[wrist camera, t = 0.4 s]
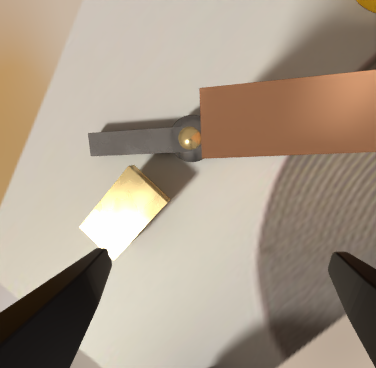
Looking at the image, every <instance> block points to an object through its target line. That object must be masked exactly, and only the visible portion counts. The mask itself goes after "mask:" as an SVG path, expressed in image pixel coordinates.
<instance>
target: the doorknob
mask: <svg viewBox="0 0 376 368" xmlns="http://www.w3.org/2000/svg"><path fill="white" fill-rule="evenodd" d="M356 1H357V2H358V3H359V4H360V5H361V6H363V7H364V8H366V9H368V10H369V11H372V12H374V13H376V0H356Z"/></svg>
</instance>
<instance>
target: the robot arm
mask: <svg viewBox="0 0 376 368" xmlns="http://www.w3.org/2000/svg"><path fill="white" fill-rule="evenodd" d="M111 267H112V261H111V258H110V255H109V252H108V249H107V248H96V249H95V250H93V251H92V252H90V253H89V254H87V255H86V256H84V257H83V258H81V259H80V260H78V261H77V262H75V263H74V264H72V265H71V266H69V267H68V268H66V269H65V270H63V271H62V272H60V273H59V274H57V275H56V276H54V277H53V278H51V279H50V280H48V281H47V282H45V283H44V284H42V285H41V286H39V287H38V288H36V289H35V290H33V291H32V292H30V293H29V294H27V295H26V296H24V297H23V298H21V299H20V300H18V301H17V302H15V303H14V304H13V305H11V306H9V307H8V308H6V309H5V310H3V311H2V312H0V368H70V366H71V364H72V362H73V360H74V357H75V355H76V353H77V351H78V349H79V346H80V344H81V342H82V340H83V338H84V335H85V333H86V331H87V329H88V327H89V324H90V322H91V320H92V318H93V316H94V313H95V311H96V309H97V307H98V304H99V302H100V299H101V296H102V293H103V290H104V287H105V285H106V282H107V279H108V276H109V273H110V270H111ZM328 272H329V275H330V277H331V280H332V282H333V284H334V287H335V289H336V291H337V294H338V296H339V298H340V301H341V303H342V305H343V307H344V310H345V312H346V314H347V316H348V318H349V320H350V322H351V324H352V326H353V328H354V329H355V331H356V333H357V335H358V337H359V339H360V340H361V342H362V344H363V346H364V348H365V349H366V351H367V353H368V355H369V357H370V359H371V360H372V362H373V364H374V366H375V368H376V269H375V268H373V267H372V266H370V265H368V264H366V263H365V262H363V261H361V260H360V259H358V258H356V257H355V256H353V255H351V254H349V253H348V252H334V253H333V254H332V256H331V260H330V263H329V266H328Z"/></svg>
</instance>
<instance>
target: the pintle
mask: <svg viewBox="0 0 376 368" xmlns="http://www.w3.org/2000/svg"><path fill="white" fill-rule="evenodd" d="M178 140H179V143H180V145H181V146H182V147H183V148H185V149H189V150H192V149H196V148H197V147H199V145H200V144H201V133H200V132H199V131H198V130H197V129H196V128H194V127H190V126H189V127H185V128H183V129H182V130H181V131H180V133H179V136H178Z"/></svg>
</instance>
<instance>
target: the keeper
mask: <svg viewBox="0 0 376 368" xmlns="http://www.w3.org/2000/svg"><path fill="white" fill-rule="evenodd" d="M170 200H171V199H170V198H169V197H167V196H166V195H165V194H164V193H163V192H162V191H161V190H160V189H159V188H158V187H157V186H156V185H155V184H154V183H153V182H152V181H151V180H150V179H148V178H147V177H146V176H145V175H144V174H143V173H142V172H141V171H140V170H139V169H138V168H137V167H136V166H135V165H132V166H128V167H127V169H126V170H125V171H124V172H123V174H122V175H121V176H120V177H119V179H118V180H117V181H116V182H115V183H114V185H113V186H112V187H111V188H110V190H109V191H108V192H107V193H106V195H105V196H104V197H103V198H102V200H101V201H100V202H99V203H98V205H97V206H96V207H95V208H94V210H93V211H92V212H91V213H90V214H89V216H88V217H87V218H86V219H85V221H84V222H83V223H82V224H81V226H80V227H79V228H81V229H82V230H83V231H84V232H85V233H86V234H87V235H88V236H89V237H90V238H91V239H92V240H93V241H94V242H95V243H96V244H97V245H98V246H99V247H100V248H107V249H108V252H109V255H110V257H111V258H112V259H113V260H114V259H115V258H116V257H117V256H118V255H119V254H120V253H121V252H122V251H123V250H124V249H125V248H126V247H127V246H128V245H129V244H130V243H131V242H132V241H133V240H134V239H135V238H136V237H137V236H138V235H139V233H140V232H141V231H142V230H143V229H144V227H145V226H146V225H147V224H148V223H149V222H150V221H151V220H152V219H153V218H154V217H155V216H156V215H157V214H158V212H159V211H160V210H161V209H162V208H163V207H164V206H165V205H166V204H167V203H168V202H169V201H170Z"/></svg>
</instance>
